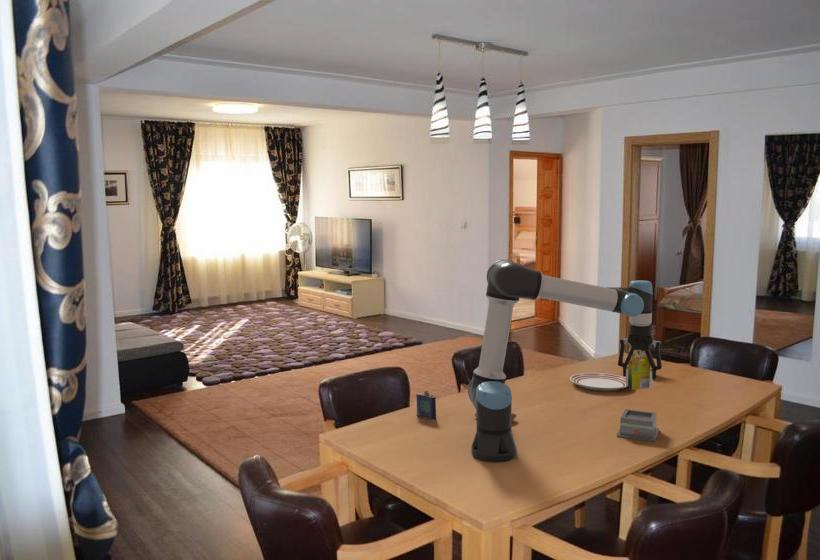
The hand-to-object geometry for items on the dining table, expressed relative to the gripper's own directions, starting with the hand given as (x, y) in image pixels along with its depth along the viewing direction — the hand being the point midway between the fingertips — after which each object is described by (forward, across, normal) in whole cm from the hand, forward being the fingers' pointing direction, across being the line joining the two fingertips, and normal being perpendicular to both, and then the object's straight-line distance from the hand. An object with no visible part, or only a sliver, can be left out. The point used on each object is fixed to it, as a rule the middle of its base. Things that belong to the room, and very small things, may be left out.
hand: (639, 386), depth 232 cm
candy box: (+18, +12, -87) cm, 90 cm away
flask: (+17, +78, +15) cm, 81 cm away
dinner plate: (+18, +24, -57) cm, 65 cm away
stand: (+18, 0, 0) cm, 18 cm away
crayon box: (+1, 0, 0) cm, 1 cm away
